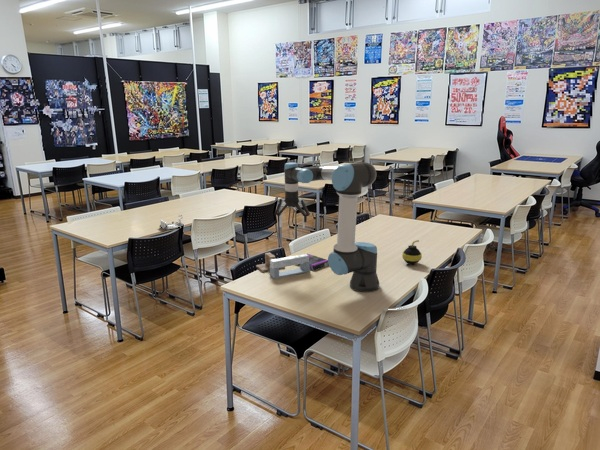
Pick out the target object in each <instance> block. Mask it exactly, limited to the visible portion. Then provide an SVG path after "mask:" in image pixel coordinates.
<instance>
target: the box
mask: <svg viewBox="0 0 600 450" xmlns="http://www.w3.org/2000/svg"><path fill="white" fill-rule="evenodd" d="M306 254H307V255H309V263H310V271H317V270H320V269H322V268H325V267H328V266H329V263H328V259H326V258H322V257H320V256H318V255H317V256H316V255H313V254H309V253H306ZM299 265H300V264H298V265H297V266H299Z"/></svg>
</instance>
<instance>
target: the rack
mask: <svg viewBox="0 0 600 450" xmlns="http://www.w3.org/2000/svg"><path fill="white" fill-rule="evenodd" d="M310 272H311V269H310V263H303V264H300V267H299V268H295V269H294V268H293V269H290V270H283V271H280V269H279V268H276V269H273V268H271V267H270V271H269V276H270V277H271V278H272V279H275V280H276V279H280V278H286V277H290V276H291V277H292V276H296V275H302V274H306V273H307V274H308V273H310Z"/></svg>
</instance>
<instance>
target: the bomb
mask: <svg viewBox="0 0 600 450" xmlns="http://www.w3.org/2000/svg"><path fill="white" fill-rule="evenodd" d="M417 242H420V240H419V239H417V240H414V241H413V242H412V243H411V245H408V247H407V248H405V250H404V251H403V252H402V254H401V255H402V259H403V260H404V262H405V263H407V265H416V264H418V263H419V262H420V261H421V260H422V257H423V256H422V255H423V254H422V252H421V251H420V250H419V249H418V248H417V245H414V244H415V243H417Z"/></svg>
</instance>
